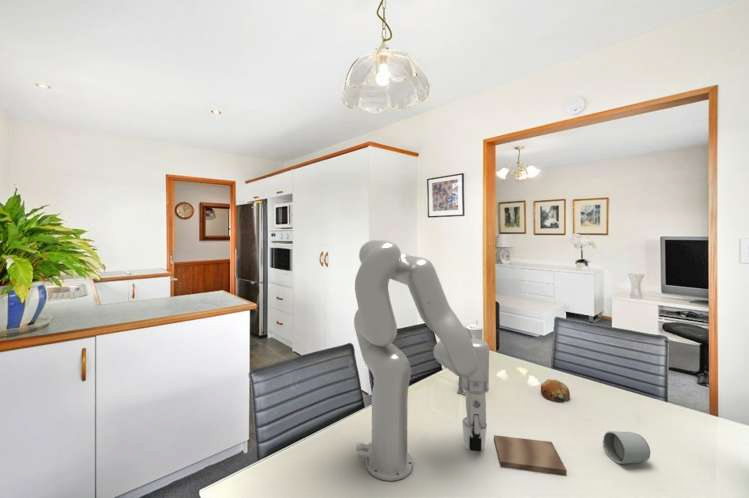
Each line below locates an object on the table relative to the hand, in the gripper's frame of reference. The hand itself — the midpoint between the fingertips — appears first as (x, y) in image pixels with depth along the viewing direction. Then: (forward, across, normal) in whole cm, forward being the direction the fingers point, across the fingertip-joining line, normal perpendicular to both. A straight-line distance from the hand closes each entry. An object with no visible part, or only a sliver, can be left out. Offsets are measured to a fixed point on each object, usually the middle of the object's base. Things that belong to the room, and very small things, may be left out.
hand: (474, 443), depth 98 cm
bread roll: (+1, +38, -33) cm, 50 cm away
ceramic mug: (+1, +3, -40) cm, 40 cm away
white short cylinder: (+1, 0, 0) cm, 1 cm away
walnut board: (+1, -2, -14) cm, 14 cm away
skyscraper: (+1, +35, -2) cm, 35 cm away
